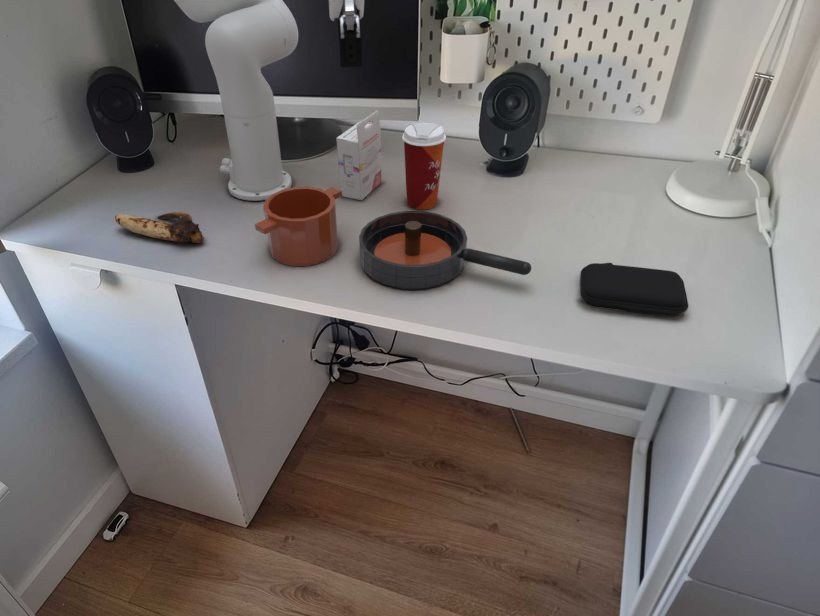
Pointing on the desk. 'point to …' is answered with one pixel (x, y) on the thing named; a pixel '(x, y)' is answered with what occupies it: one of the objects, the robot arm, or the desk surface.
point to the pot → (301, 225)
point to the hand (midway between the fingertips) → (350, 56)
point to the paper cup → (423, 163)
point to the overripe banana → (163, 227)
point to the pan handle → (496, 261)
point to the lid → (412, 247)
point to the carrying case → (633, 289)
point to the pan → (412, 274)
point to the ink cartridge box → (360, 158)
